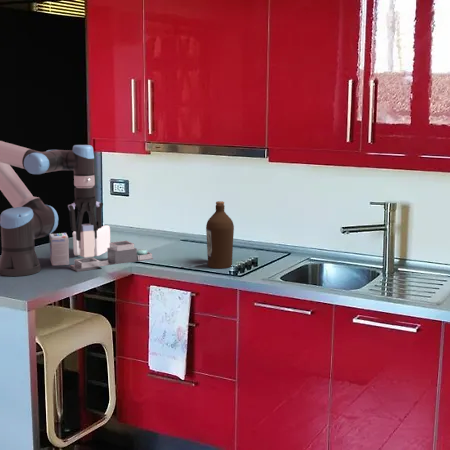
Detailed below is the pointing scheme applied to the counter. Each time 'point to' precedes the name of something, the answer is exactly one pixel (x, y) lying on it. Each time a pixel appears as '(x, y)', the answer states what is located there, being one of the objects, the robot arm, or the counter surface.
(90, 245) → the pink upright block
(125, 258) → the grey stepped holder
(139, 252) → the release button
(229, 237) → the olive oil
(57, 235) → the light bulb box
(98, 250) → the cable organizer
